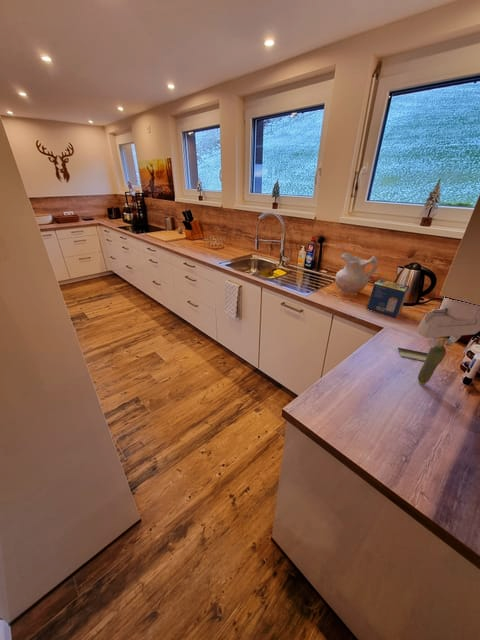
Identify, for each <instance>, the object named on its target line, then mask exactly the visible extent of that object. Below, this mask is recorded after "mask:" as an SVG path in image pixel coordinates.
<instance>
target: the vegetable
mask: <svg viewBox="0 0 480 640" xmlns="http://www.w3.org/2000/svg"><path fill="white" fill-rule="evenodd" d="M448 339H449V338H448V337H447V336H446V337H441V338H439V339H437V342H438V343H439V344H438V346H437V347H435V348H432V347H431V346H430V348H429V349H428V352H427V353H428V355H427V358H426V360H425V361H423V365H422V366H421V368H420V370H419V372H418V375H417V379H418V385H426V384H427V383H429V381H430V379H431V378H432V376H433V374H434V372H435V370H436V369H437V367H438V366H439V364H441V362H442V361H443V360H444V358H445V356H446V354H447V351H446V348H445V346H446V345H445V342H446V343H447V340H448Z"/></svg>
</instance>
